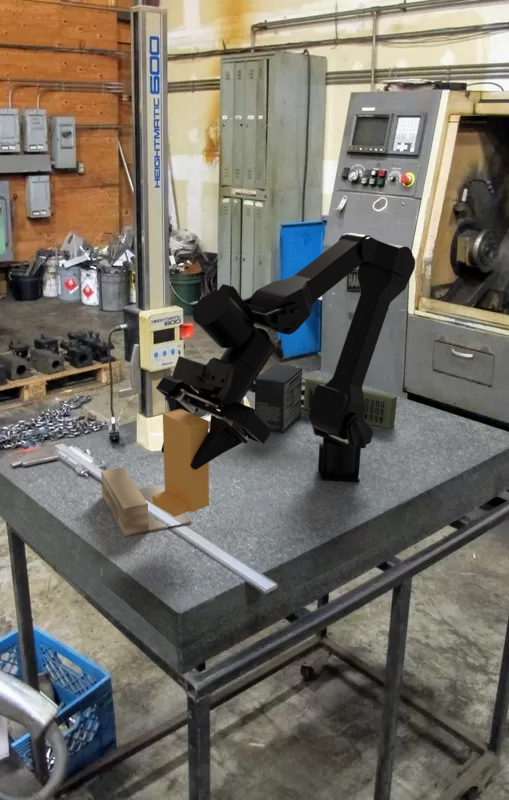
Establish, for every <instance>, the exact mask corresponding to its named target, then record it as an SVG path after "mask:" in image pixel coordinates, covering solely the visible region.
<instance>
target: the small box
mask: <svg viewBox="0 0 509 800" xmlns="http://www.w3.org/2000/svg"><path fill="white" fill-rule="evenodd" d="M302 378H303V366H299V365H297V366H296V365H289V364H280V363H273V364H272V365H270V367H268V368H267V369H266V370H264V371H263V372H262V373H259V375H258V376H257V378H256V380H255V381H254V384H255V385H256V386H257V387H258V388H257V389H256V391H255V393H254V410H255V411H256V412H258V413H259V414H260V415H261V416H262V417H263V418H264V419H265V420H266V421H267V422H268V423H269V424H270V432H272V433H273V432H274V433H279V434H284V433H285V432H287V430H288V429H289V428H291V426H292V425H293V424H294V423H295V422H296V421H297V420H298V419H299V418H300V417H301V416H302V405H301V400H302V396H303V395H302V390H303V386H302V382H303V379H302Z"/></svg>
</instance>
